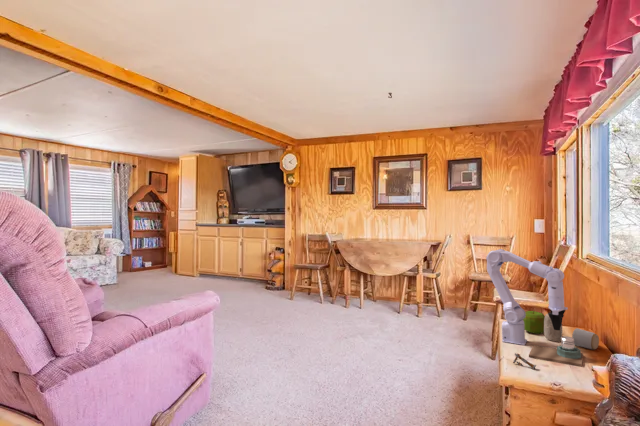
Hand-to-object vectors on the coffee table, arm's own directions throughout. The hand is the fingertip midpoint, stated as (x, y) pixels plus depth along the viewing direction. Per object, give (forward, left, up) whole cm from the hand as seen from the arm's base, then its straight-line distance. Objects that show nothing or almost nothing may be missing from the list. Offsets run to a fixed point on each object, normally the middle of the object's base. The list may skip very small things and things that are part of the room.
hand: (557, 327), depth 157 cm
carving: (-3, +14, -10) cm, 18 cm away
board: (0, -9, -10) cm, 13 cm away
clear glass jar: (+4, -7, -9) cm, 12 cm away
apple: (-12, +23, -10) cm, 28 cm away
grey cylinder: (+10, +12, -10) cm, 18 cm away
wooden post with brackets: (-9, -27, -10) cm, 30 cm away
